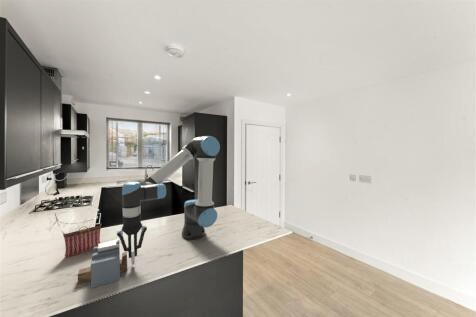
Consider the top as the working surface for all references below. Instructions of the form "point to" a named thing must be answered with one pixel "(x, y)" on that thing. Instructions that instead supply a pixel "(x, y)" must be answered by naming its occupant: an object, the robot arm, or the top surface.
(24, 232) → the top surface
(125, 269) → the wooden bar
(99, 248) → the keeper
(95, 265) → the block
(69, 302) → the top surface
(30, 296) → the top surface
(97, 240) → the handbag
